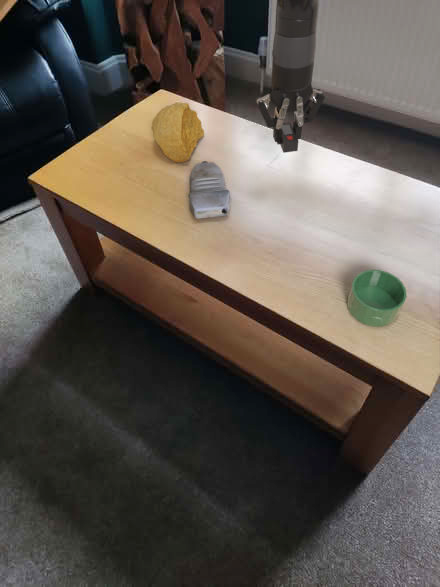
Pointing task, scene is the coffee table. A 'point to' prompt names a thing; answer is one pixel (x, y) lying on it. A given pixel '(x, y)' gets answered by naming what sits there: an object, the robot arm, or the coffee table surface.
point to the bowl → (376, 297)
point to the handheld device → (208, 191)
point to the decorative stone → (177, 131)
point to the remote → (288, 138)
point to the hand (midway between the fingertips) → (286, 140)
